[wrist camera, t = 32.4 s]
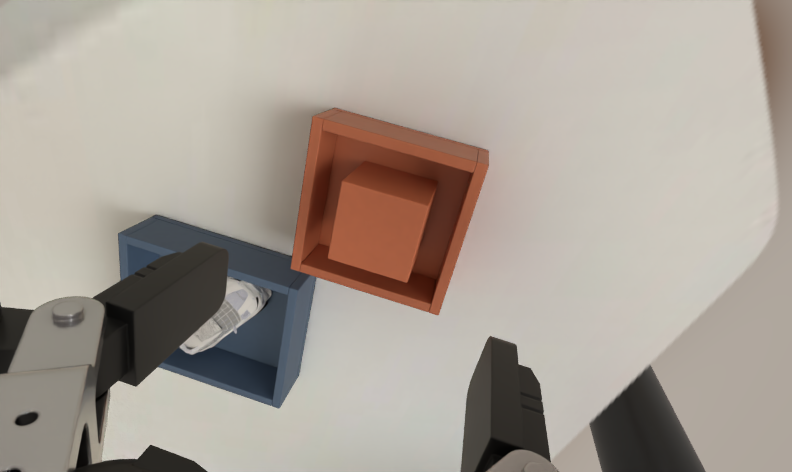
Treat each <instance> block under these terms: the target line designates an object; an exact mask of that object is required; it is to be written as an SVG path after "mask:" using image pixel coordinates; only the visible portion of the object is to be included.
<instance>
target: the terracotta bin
mask: <svg viewBox="0 0 792 472" xmlns="http://www.w3.org/2000/svg"><path fill="white" fill-rule="evenodd" d="M364 161H369V162H372V163H376V164H379V165H383V166H386V167H390V168H393V169H397V170H400V171H404V172H407V173H411V174H414V175H418V176H421V177H425V178H428V179H432V180H435V181H438V186H437V189H436V193H435V196H434V200H433V203H432V207H431V210H430V214H429V217H428V221H427V224H426V228H425V231H424V235H423V238H422V242H421V245H420V248H419V251H418V254H417V257H416V260H415V263H414V265H413V268H412V271H411V274H410V277H409V279H408V282H407V283H406V282H403V281H399V280H396V279H393V278H390V277H386V276H383V275H380V274H377V273H373V272H370V271H367V270H364V269H361V268H357V267H354V266H351V265H348V264H344V263H341V262H338V261H335V260H331V259H328V253H329V247H330V242H331V236H332V231H333V226H334V220H335V215H336V209H337V204H338V199H339V193H340V188H341V182H342V181H343V180H344V179H345V178H346V177H347V176H348V175H349V174H351V173H352V172H353V171H354V170H355V169H356V168H357V167H359V166H360V165H361V164H362V163H363V162H364ZM488 166H489V151H488V150H484V149H481V148H477V147H474V146H470V145H466V144H463V143H459V142H456V141H452V140H448V139H445V138H441V137H438V136H434V135H430V134H427V133H423V132H420V131H416V130H412V129H409V128H405V127H402V126H398V125H394V124H391V123H387V122H384V121H380V120H376V119H373V118H369V117H366V116H362V115H358V114H355V113H351V112H348V111H344V110H340V109H337V108H333V109H331V110H328V111H325V112H323V113H320V114H317V115H314V116H313V117H312V124H311V131H310V138H309V144H308V151H307V158H306V165H305V172H304V179H303V186H302V193H301V199H300V206H299V213H298V220H297V227H296V234H295V241H294V248H293V254H292V261H291V269H293V270H296V271H300V272H302V273H305V274H309V275H312V276H315V277H318V278H321V279H325V280H328V281H331V282H334V283H337V284H340V285H344V286H347V287H350V288H353V289H356V290H360V291H363V292H366V293H369V294H372V295H375V296H379V297H382V298H385V299H388V300H391V301H395V302H398V303H401V304H404V305H407V306H410V307H414V308H417V309H420V310H423V311H426V312H428V311H429V313H432V314H435V315H439V312H440V309H441V306H442V303H443V300H444V297H445V294H446V291H447V288H448V285H449V282H450V279H451V276H452V274H453V271H454V268H455V265H456V262H457V259H458V256H459V253H460V250H461V247H462V244H463V241H464V238H465V235H466V232H467V229H468V226H469V223H470V220H471V217H472V214H473V211H474V208H475V205H476V202H477V199H478V196H479V193H480V190H481V187H482V184H483V181H484V178H485V175H486V172H487V169H488Z"/></svg>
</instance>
